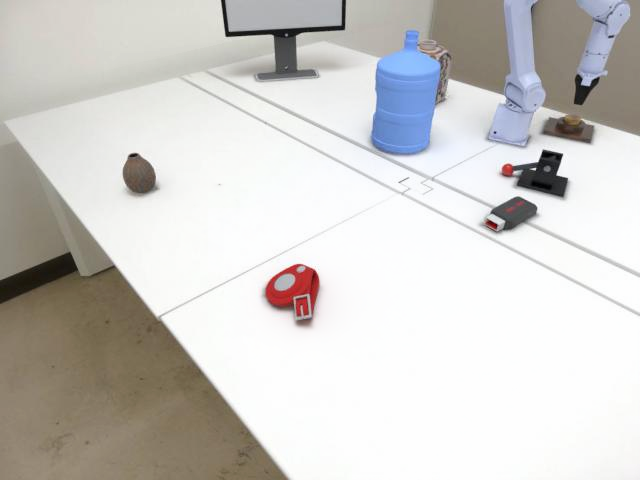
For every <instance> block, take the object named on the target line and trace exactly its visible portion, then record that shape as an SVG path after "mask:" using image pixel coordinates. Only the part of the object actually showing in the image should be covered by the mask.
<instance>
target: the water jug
mask: <svg viewBox="0 0 640 480" xmlns="http://www.w3.org/2000/svg"><path fill="white" fill-rule="evenodd" d="M404 34H405V37H404V43H403V44H404V45H403V48H402V49H401V50H399V51H396V52H393V53H390V54H387V55H386V56H383V57H381V58H380V59H379V60H377V63H376V68H375V77H374V79H375V84H374V85H375V86H374V91H375V94H376V103H375V112H373V113H374V114H373V115H372V124H371V125H372V126H371V132H370V140H371V143H372V144H373V145H374V147H376V148H377V149H379V150H381V151H382V152H385V153H388V154H395V155H412V154H418V153H420V152H423V151H425V149H427V148H428V146H429V144H430V142H431V133H432V132H431V130H432V125H433V118H434V115H435V109H436V104H435V100H436V94H437V88H438V84H439V79H440V69H441V66H440V64H439V62H438V61H436V60H435V59H433V58H431V57H429V56H427V55H425V54H423V53H422V52H420V51H418V50H417V44H419V35H420V31H419V30H410V29H409V30H406V31H405V32H404Z"/></svg>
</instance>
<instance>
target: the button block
mask: <svg viewBox="0 0 640 480" xmlns="http://www.w3.org/2000/svg"><path fill="white" fill-rule="evenodd" d="M564 118H565V116H560V117H558V118H556V117H550V116H549V117H548V118H547V121H546V124H545V127H544V129H543V131H542V135H546V136H551V137H556V138H561V139H565V140H570V141H576V142H581V143H586V144H591V141H592V139H593V135H594V134H593V133H594V129H595V125H594V124H588V123H586V122H585V121H584V120H583V119H581V120H580V123H579V125H569V124H566V123H564V122H563V121H564Z"/></svg>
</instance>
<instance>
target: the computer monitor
mask: <svg viewBox="0 0 640 480" xmlns="http://www.w3.org/2000/svg"><path fill="white" fill-rule="evenodd" d="M220 3H221V5H220V6H221V12H222V21H223V29H224V35H225V38H238V37H251V36H252V37H254V36H255V37H256V36H273V48H274V62H275V63H274V64H275V65H274V66H275V71H262V72H257V73H256V74H255V78H256V81H257V82H261V83H262V82H275V81H277V82H278V81H290V80H303V79H315V78H319V74H318V71H317V70H316V69H313V68H305V69H298V55H297V53H298V52H297V36H299V35H301V34H305V33H322V32H323V33H324V32H339V31H341V32H342V31H345V30H346V16H347V15H346V14H347V0H220Z"/></svg>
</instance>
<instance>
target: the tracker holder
mask: <svg viewBox="0 0 640 480" xmlns="http://www.w3.org/2000/svg"><path fill="white" fill-rule="evenodd" d="M319 287H320V276H319V274H318V272H317V271H316V269H315V268H312V267H310V266H307V265H306V264H303V263H296V264H295V263H294V264H293V265H290V266H289V267H286V268H285V269H283V270H281V271H279V272H278V273H276V274H274V275H273V277H271V278H270V280H269V281H268V282H267V284H266V287H265V297H266V299H267V300H268V302H269V303H270V304H272V305H273V306H277V307H285V306H291V305H292V304H293V307H294V317H295V321H301V320H306V319H307V320H308V319H312V317H313V314H314V309H315V305H316V299H317V296H318V292H319Z"/></svg>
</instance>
